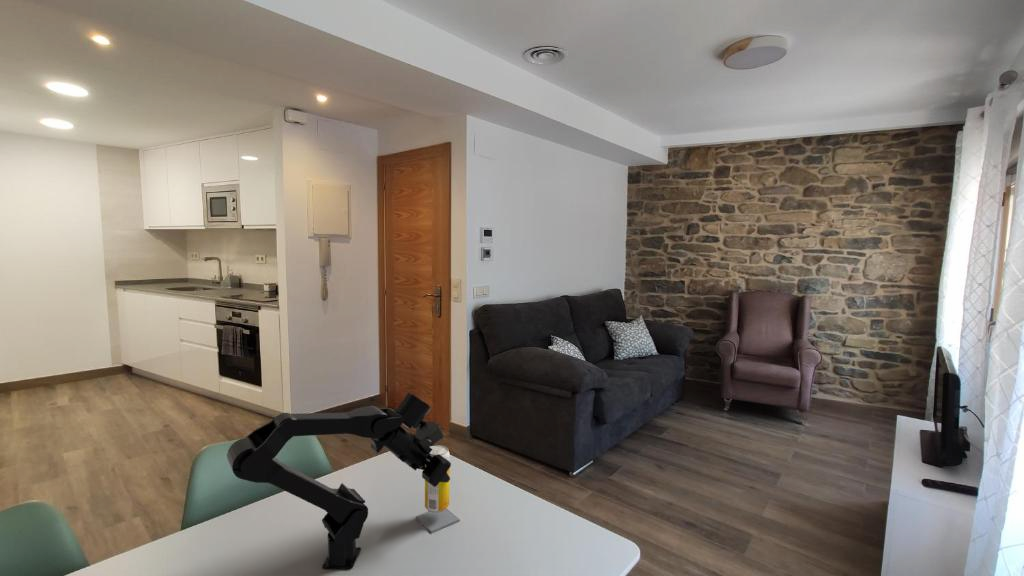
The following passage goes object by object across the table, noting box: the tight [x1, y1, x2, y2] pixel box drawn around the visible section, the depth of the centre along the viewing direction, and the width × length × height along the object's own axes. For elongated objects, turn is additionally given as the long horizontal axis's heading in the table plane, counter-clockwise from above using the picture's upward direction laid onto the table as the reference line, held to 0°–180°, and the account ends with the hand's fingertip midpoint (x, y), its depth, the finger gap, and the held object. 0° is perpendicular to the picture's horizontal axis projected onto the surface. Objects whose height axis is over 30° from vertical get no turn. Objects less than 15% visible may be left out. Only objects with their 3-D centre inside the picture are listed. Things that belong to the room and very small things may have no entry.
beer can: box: [424, 445, 451, 513], centre depth 116 cm, size 6×6×15 cm
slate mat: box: [415, 508, 461, 534], centre depth 117 cm, size 8×8×1 cm
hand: (442, 475), depth 117 cm, fingers closed on beer can, 6 cm apart
